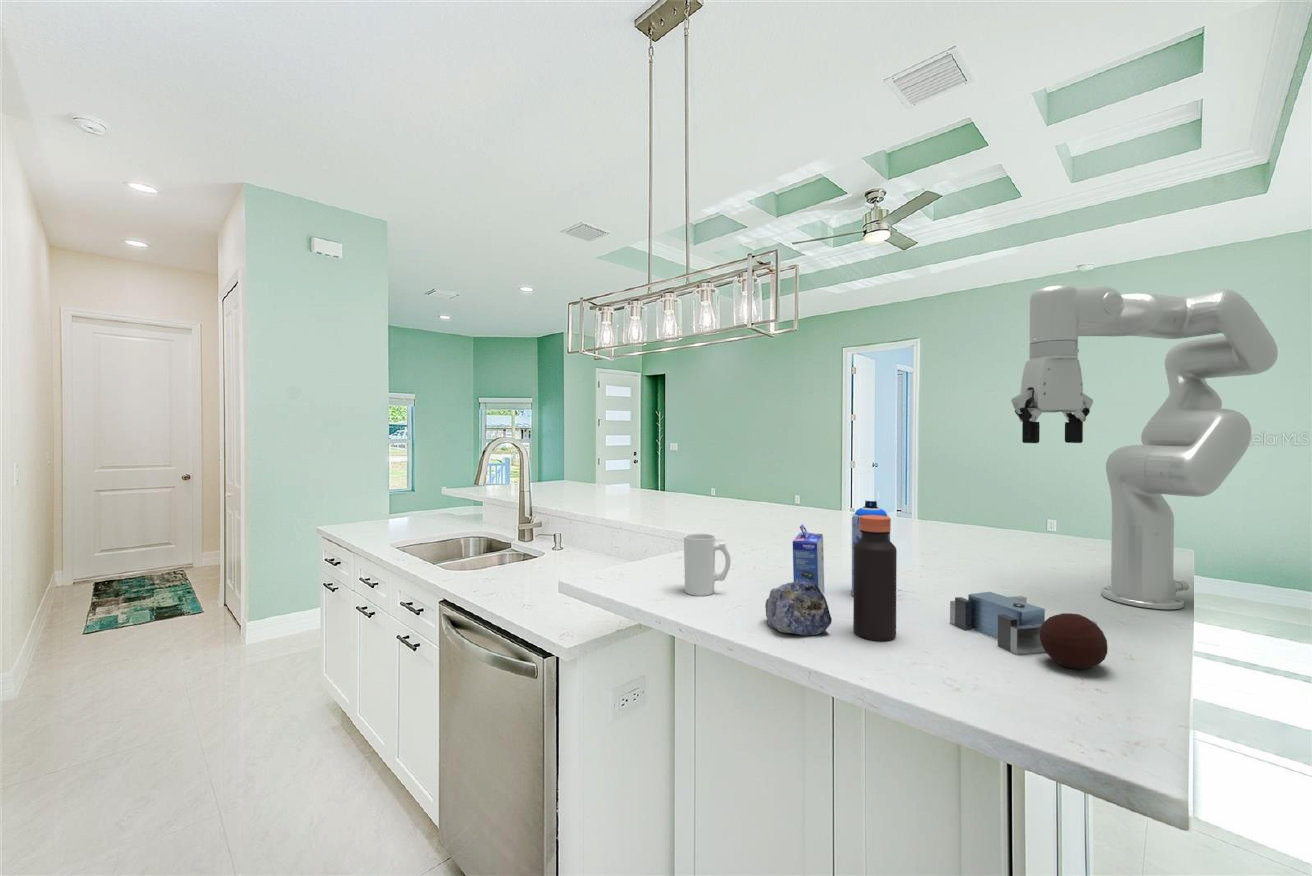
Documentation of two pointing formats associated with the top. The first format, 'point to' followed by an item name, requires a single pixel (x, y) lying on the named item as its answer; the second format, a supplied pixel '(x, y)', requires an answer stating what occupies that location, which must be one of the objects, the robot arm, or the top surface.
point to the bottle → (875, 580)
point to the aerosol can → (868, 509)
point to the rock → (798, 609)
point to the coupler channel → (1001, 628)
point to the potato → (1073, 641)
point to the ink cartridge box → (808, 558)
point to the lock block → (1001, 612)
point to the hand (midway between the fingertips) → (1052, 442)
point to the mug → (702, 563)
